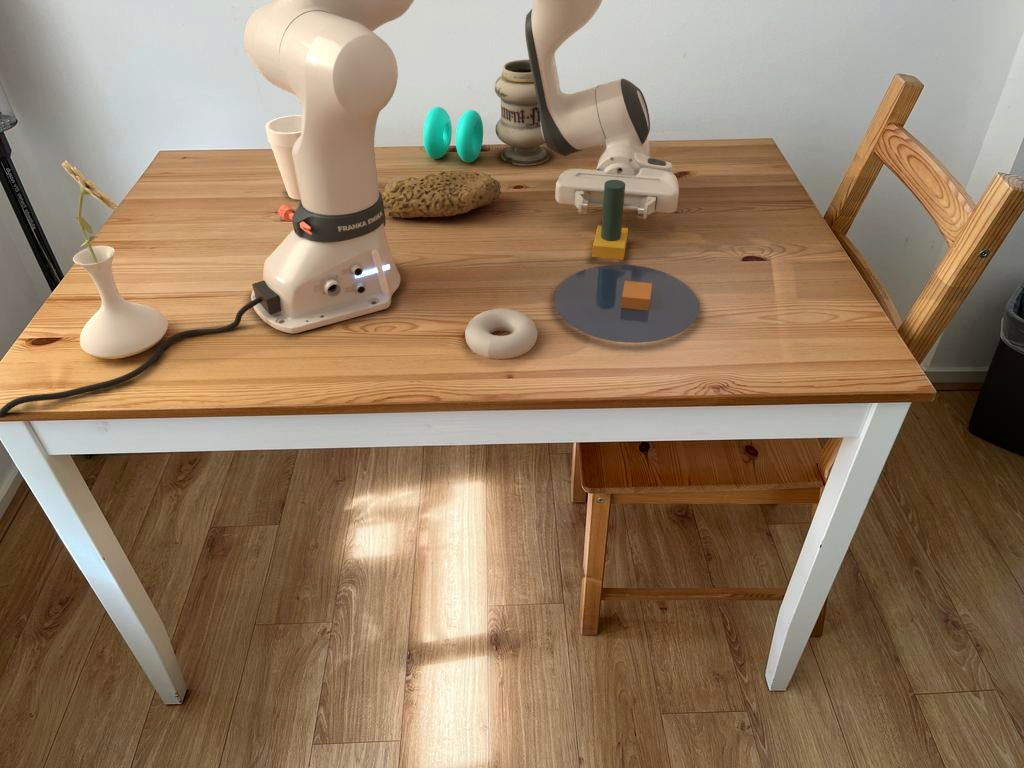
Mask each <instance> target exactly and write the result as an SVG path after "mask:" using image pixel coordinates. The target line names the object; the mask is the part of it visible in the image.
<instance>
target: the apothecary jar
mask: <svg viewBox="0 0 1024 768" xmlns="http://www.w3.org/2000/svg"><path fill="white" fill-rule="evenodd" d="M494 92H495V94H496V96H497V97H498V98H499V99H500V118H499V119H498V121H497V123H496V124H495V134H496V137H497V138H498V139H499V140H500V141H501V142H502V143H504V144H505V145H507V146H508V147H506V148H505V149H504V150H502V152H501V155H500V157H501V159H502V160H503V161H504V162H506V163H511V164H512V165H514V166H521V167H531V166H532V167H533V166H538V165H541V164H544V163H545V162H547V161H548V160H549V159H550V152H549V151H548V150H547V149H546V148H544V147H543V145H546V143H545V141H544V139H543V136H542V132H541V122H540V112H539V106H538V101H537V96H536V91H535V86H534V81H533V76H532V72H531V66H530V61H529V58H528V59H527V58H526V59H516V60H512V61H508V62H505V63H504V64H503V66H502V72H501V75H500V76H498V78H497V79H496V81H495V83H494Z"/></svg>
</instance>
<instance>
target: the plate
mask: <svg viewBox="0 0 1024 768" xmlns="http://www.w3.org/2000/svg"><path fill="white" fill-rule="evenodd" d="M625 281H634V282H644V283H652V289H651V298H650V306H649V311H645V310H635V309H625V308H621V303H622V294H623V289H624V283H625ZM553 299H554V300H553V301H554V307H555V309H556V311H557V313H558V314H559V316H560V317H561V319H562V320H564V321H565V322H566V323H567V324H568V325H570V326H571V327H572V328H574V329H576V330H578V331H580V332H581V333H583V334H586V335H589V336H592V337H594V338H598V339H602V340H605V341H611V342H616V343H617V342H618V343H630V344H631V343H634V344H635V343H636V344H637V343H650V342H656V341H660V340H665V339H669V338H671V337H674V336H676V335H678V334H680V333H681V332H684V331H685V330H687V329H688V328H689V327H690V326H691V325H692V324H693V323H694V322H695V320H696V319H697V316H698V314H699V310H700V309H699V308H700V307H699V306H700V305H699V301H698V298H697V296H696V294H695V293H694V292H693V290H692V289H691V288H690V287H689V286H688V285H687V284H686V283H685V282H683V281H681V280H680V279H678V278H677V277H675V276H673V275H672V274H669V273H667V272H664V271H662V270H658V269H655V268H651V267H647V266H641V265H635V264H634V265H633V264H607V265H598V266H593V267H589V268H585V269H583V270H581V271H578V272H576V273H574V274H572V275H570V276H568V277H567V278H565V279H564V280H563V281H561V284H559V286H558V287H557V288H556V291H555V293H554V297H553Z"/></svg>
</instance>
